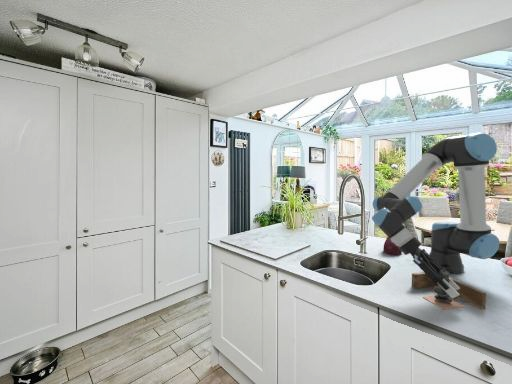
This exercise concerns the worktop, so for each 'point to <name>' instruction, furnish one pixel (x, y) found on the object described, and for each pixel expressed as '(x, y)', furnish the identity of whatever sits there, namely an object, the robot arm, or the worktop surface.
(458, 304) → the tile
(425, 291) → the worktop surface
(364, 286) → the worktop surface
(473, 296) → the wooden corner wall
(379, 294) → the worktop surface
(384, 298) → the worktop surface
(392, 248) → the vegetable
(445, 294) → the grey stone statuette
